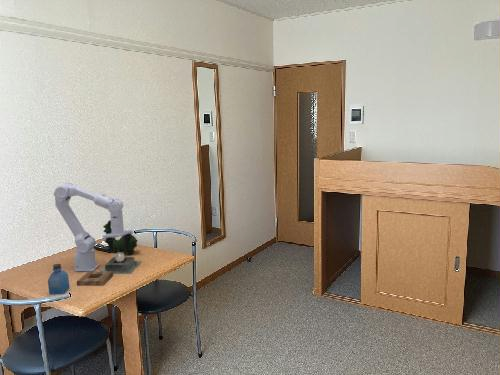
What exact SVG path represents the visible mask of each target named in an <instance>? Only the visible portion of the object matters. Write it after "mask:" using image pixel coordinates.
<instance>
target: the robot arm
mask: <svg viewBox="0 0 500 375" xmlns="http://www.w3.org/2000/svg"><path fill="white" fill-rule="evenodd" d="M53 196H54V203H55V204H54V205H55V207H56V209H57V210H58V212H59V214H60V215H61V216H62V218H63V220H64V221H65V223H66V224H67V227H68V228H69V230H70V231H71V233H72V235H73V236H74V244H75V246H76V250H77V251H75V253H74V254H73V262H74V270H73V271H74V272H88V271H95V270H96V269H97V268H98V267H99V266H100V264H97V263H96V261H97V260H96V250H95V246H96V243H97V241H96V238H94V236H92V235H91V234H90V233H89V232H88V231H86V230H85V229H84V227H83V225H82V223H81V222H80V220H79V219H78V217H77V216H76V214H75V212H74V210H73V209H72V207H71V206H70V200H71V199H72V197H75V196H76V197H77V196H78V197H81V198H84V199H87V200H89V201H93V202H94V205H96V206H98V207H100V208H104V209H105V210H108V212H109V213H110V216H109V218H110V220H111V230H112V233H109V234H106V233H105V234H103V235H102V240H104V241H106V242H107V243H106V244H107V246H108V247H109V248H110V250H109V252H110V253H111V254H113V253H114V252H113V240H112V239H111V238H115V239H116V238H119V237H120V238H121V237H122V236H123V237H124V244H125V249H126V250H128V245H129V241H130V239H131V235H134V231H133V230H132V229H129V230H125V229H124V218H123V217H124V214H123V208H124V203H123V201H122V200H120V199H119V198H114V197H109V196H107V195H106V194H105V193H98V194H96V193H94V192H92V191H90V190H87V189H84V188H83V187H81V186H79V185H77V184H74V183H71V182H66V183H64V184H62V185H58V186H57V187H56V188H55V190H54V192H53ZM130 234H131V235H130Z"/></svg>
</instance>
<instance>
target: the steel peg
mask: <svg viewBox="0 0 500 375" xmlns="http://www.w3.org/2000/svg"><path fill="white" fill-rule="evenodd" d="M114 256H115V257H116V263H124V257H125V253H124V251H122V252H115V254H114Z"/></svg>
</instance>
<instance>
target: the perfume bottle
mask: <svg viewBox="0 0 500 375" xmlns="http://www.w3.org/2000/svg"><path fill="white" fill-rule="evenodd" d="M61 265H62V264H61V263H55V264H53V265H52V272H51V274H50V276H49V278H48V280H47V286H48V294H49V295H64V294H65V293H67V291H68V290H69V289H70V278H69V274H68V272H66V271H65V270H62V266H61Z"/></svg>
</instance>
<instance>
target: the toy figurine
mask: <svg viewBox="0 0 500 375" xmlns="http://www.w3.org/2000/svg"><path fill="white" fill-rule="evenodd" d="M102 227H103V228H104V230H103V233H105V235H106V234H109V233H112V230H111V219H110V220H107V223H105V224H104V225H103V226H102ZM130 235H131V234H130ZM111 239H112V240H113V253H115V254H116V253H118V252H126V254H127V255H128V256H129V255H133V254H134V253H135V249H136V248H137V246H138V239H137V238H136V237H135V236H134V234H132V235H131V239H130V241H129V245H128V250H126V249H125V244H124V237H123V236H120V238H119V239H117V238H116V237H115V238H111ZM104 244H107V242H106V240H104ZM107 248H108V250H109V249H110V248H109V246H108V247H107Z"/></svg>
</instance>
